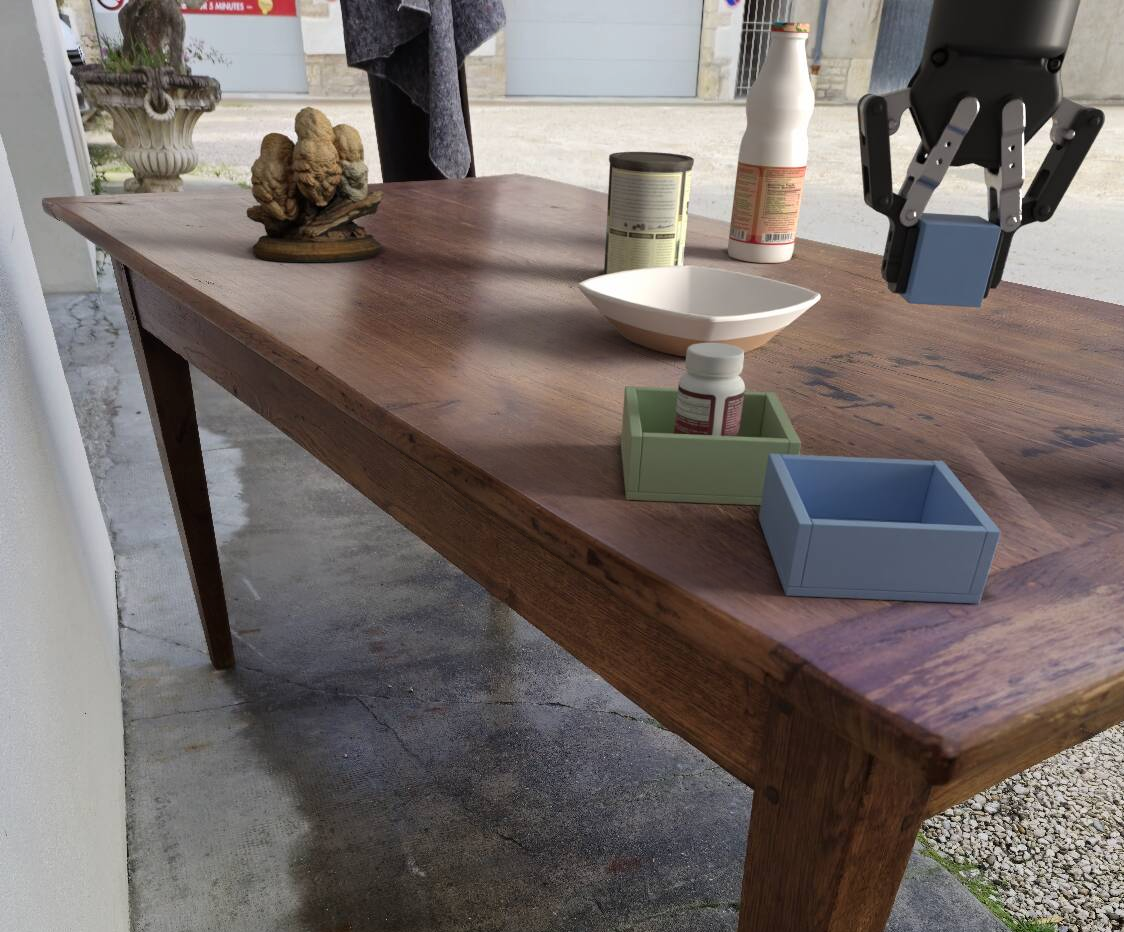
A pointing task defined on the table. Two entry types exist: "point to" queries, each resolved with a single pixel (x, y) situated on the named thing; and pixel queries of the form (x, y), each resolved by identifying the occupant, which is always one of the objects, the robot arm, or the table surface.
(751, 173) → the fruit juice
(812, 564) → the blue bin
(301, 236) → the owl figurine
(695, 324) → the bowl
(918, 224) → the blue block
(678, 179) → the coffee can
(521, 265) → the table surface
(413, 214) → the table surface
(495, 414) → the table surface
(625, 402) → the green bin
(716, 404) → the pill bottle
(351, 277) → the table surface
